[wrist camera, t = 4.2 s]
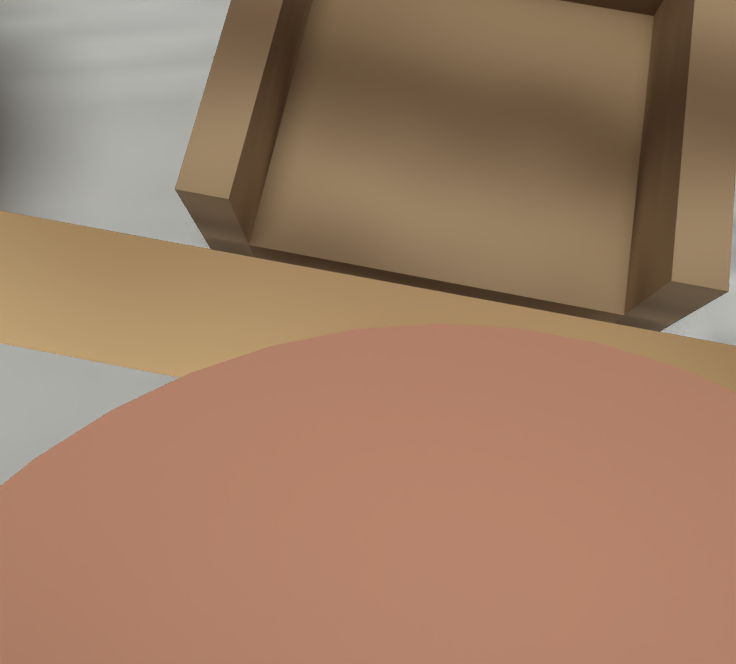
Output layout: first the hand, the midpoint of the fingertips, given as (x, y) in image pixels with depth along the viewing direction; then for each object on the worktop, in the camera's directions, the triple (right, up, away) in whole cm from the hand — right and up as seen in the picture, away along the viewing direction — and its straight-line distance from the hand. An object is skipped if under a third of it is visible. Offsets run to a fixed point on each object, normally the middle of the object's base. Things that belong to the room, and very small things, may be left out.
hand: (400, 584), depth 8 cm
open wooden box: (+2, +9, +11) cm, 15 cm away
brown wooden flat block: (+1, +2, +9) cm, 9 cm away
